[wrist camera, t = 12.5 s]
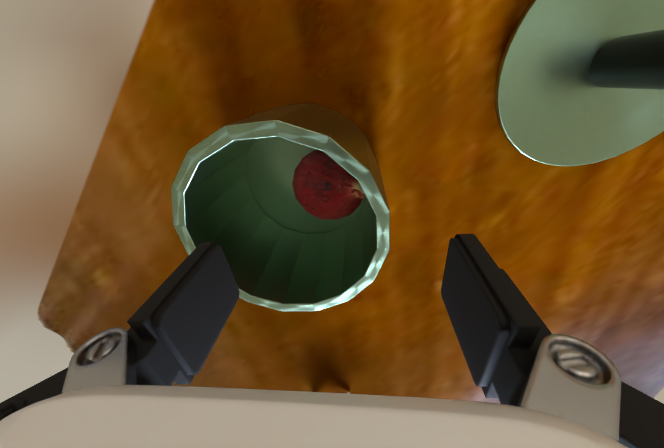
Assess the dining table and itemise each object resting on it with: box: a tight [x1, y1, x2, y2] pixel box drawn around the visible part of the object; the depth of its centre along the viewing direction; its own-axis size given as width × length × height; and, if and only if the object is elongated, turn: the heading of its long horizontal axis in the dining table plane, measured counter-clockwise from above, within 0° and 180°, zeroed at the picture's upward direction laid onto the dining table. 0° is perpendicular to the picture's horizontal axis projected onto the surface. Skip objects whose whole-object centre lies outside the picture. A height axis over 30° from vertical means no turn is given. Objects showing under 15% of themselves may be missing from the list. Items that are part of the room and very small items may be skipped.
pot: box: [171, 103, 390, 311], centre depth 20 cm, size 14×14×10 cm
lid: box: [495, 0, 664, 166], centre depth 15 cm, size 15×15×7 cm
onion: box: [292, 149, 366, 220], centre depth 20 cm, size 6×6×8 cm
